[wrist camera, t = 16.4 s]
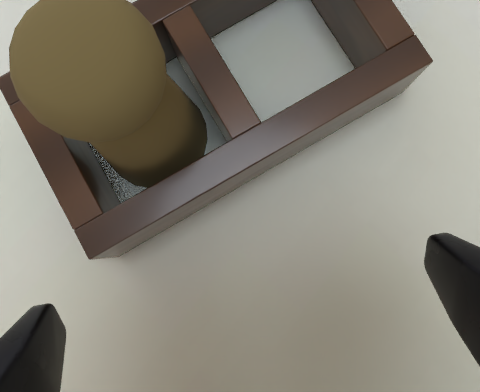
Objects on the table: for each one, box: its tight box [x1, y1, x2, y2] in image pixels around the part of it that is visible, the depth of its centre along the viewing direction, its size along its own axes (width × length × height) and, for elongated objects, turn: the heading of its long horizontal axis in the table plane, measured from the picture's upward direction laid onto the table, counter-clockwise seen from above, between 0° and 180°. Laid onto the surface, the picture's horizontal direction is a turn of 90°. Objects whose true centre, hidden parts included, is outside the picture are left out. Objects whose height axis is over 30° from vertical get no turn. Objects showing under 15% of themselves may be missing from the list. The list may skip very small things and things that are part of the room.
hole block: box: [0, 0, 433, 259], centre depth 22 cm, size 10×19×4 cm, turn 120°
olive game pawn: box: [9, 0, 207, 188], centre depth 18 cm, size 6×6×11 cm
